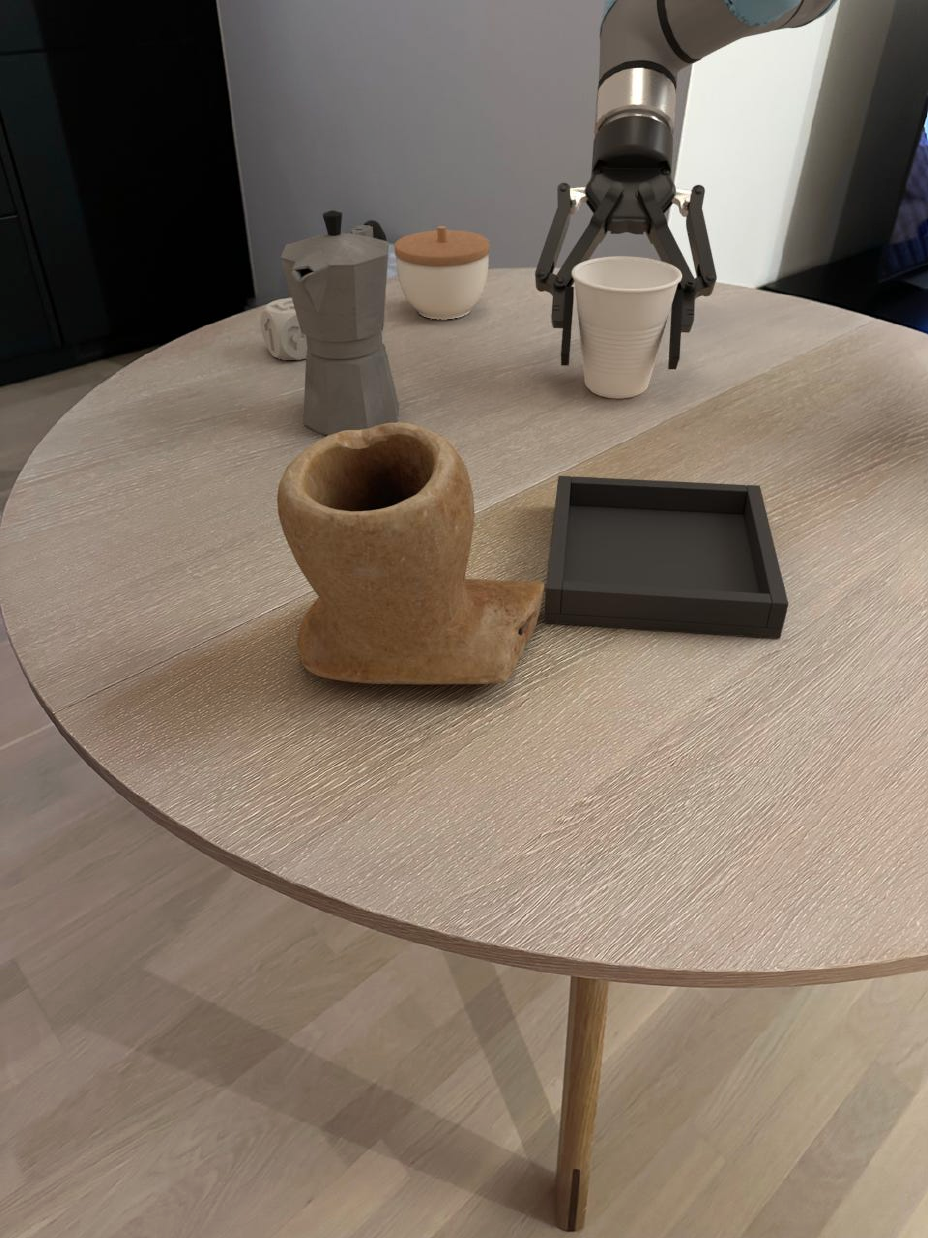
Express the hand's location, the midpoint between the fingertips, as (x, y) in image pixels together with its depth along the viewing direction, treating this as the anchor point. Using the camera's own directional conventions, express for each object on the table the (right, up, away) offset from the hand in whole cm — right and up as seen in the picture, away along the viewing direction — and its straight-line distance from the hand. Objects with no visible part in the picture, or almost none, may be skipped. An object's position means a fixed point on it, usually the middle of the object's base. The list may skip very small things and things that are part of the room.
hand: (619, 361), depth 86 cm
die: (-32, +5, +14) cm, 35 cm away
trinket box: (-17, +12, +23) cm, 31 cm away
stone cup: (-17, -26, -28) cm, 42 cm away
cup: (+1, -1, +5) cm, 5 cm away
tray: (-1, -20, -20) cm, 28 cm away
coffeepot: (-24, -5, +1) cm, 25 cm away
